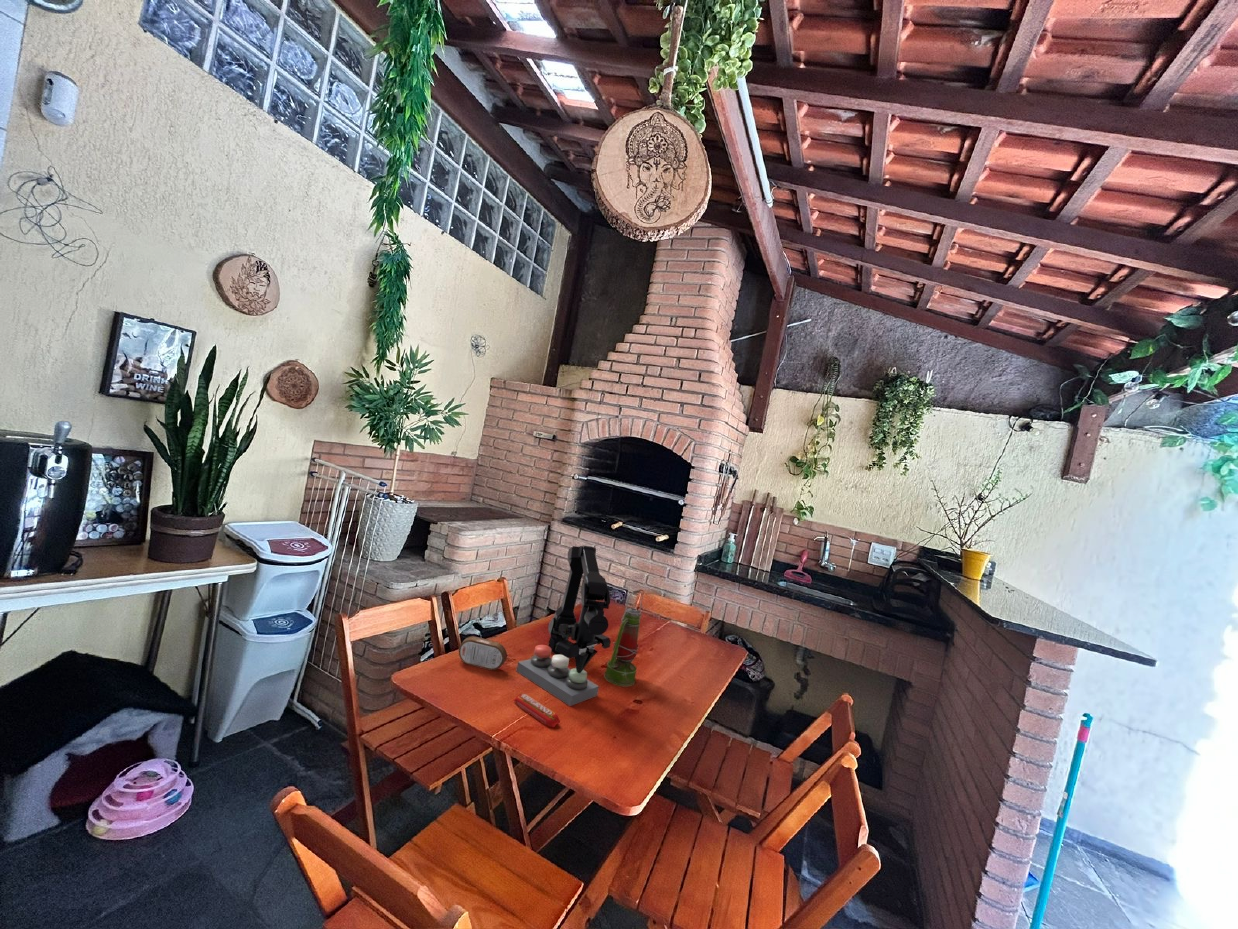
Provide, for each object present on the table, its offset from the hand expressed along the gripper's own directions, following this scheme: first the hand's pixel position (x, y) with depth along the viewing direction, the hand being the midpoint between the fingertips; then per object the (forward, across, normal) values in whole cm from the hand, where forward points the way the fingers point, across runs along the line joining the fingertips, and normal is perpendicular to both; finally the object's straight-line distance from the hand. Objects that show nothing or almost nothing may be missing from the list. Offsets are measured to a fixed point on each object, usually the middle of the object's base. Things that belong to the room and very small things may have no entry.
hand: (578, 672), depth 157 cm
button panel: (+7, 0, -8) cm, 10 cm away
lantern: (+7, -22, 0) cm, 23 cm away
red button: (+1, 0, -16) cm, 16 cm away
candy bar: (+8, +17, +2) cm, 19 cm away
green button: (+2, 0, 0) cm, 2 cm away
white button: (+1, 0, -8) cm, 8 cm away
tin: (+7, +14, -28) cm, 32 cm away
